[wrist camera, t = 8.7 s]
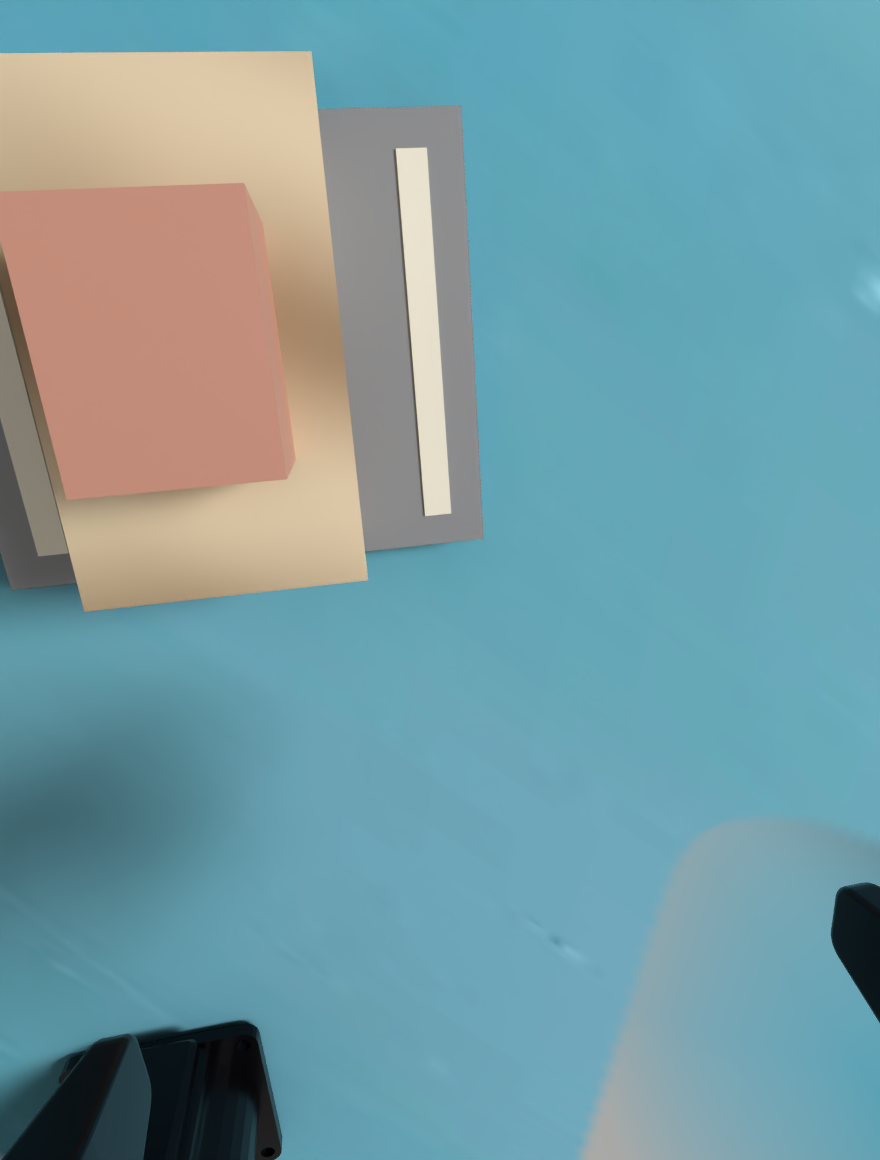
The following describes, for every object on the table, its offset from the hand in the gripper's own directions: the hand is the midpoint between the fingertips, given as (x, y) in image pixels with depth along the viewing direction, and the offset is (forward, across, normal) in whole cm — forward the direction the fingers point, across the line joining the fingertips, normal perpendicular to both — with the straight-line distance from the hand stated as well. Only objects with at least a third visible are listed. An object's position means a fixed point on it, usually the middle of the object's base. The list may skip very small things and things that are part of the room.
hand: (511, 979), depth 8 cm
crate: (+7, +4, -8) cm, 11 cm away
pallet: (+11, +4, -8) cm, 14 cm away
